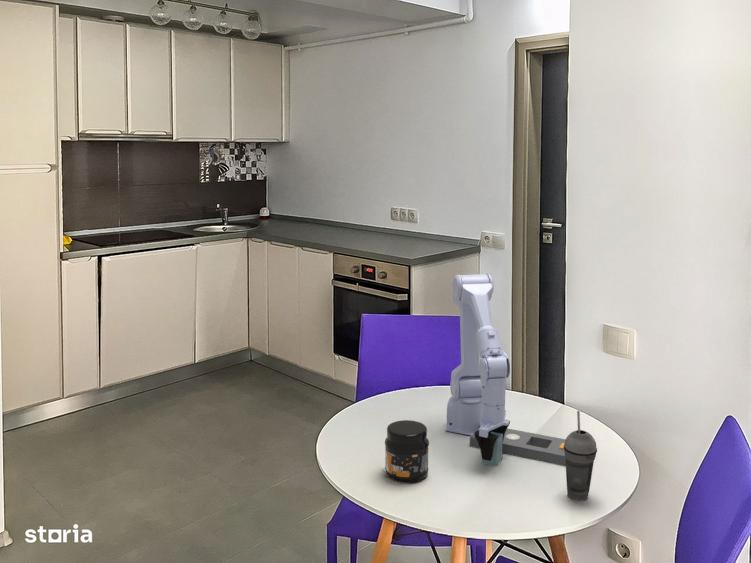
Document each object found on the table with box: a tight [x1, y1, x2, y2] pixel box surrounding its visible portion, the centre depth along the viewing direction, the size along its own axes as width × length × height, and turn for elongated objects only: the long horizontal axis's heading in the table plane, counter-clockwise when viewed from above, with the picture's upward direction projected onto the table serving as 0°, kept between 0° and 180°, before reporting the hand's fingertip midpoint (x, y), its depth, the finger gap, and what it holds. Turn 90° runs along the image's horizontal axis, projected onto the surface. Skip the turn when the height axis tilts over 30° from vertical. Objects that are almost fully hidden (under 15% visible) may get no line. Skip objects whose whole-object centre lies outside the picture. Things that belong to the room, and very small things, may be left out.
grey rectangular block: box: [480, 432, 503, 467], centre depth 179 cm, size 4×4×7 cm
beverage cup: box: [564, 410, 598, 502], centre depth 160 cm, size 7×7×20 cm
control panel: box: [469, 426, 566, 467], centre depth 186 cm, size 26×10×3 cm, turn 62°
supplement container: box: [384, 419, 430, 484], centre depth 172 cm, size 10×10×12 cm
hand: (491, 453), depth 179 cm, fingers open, 7 cm apart
